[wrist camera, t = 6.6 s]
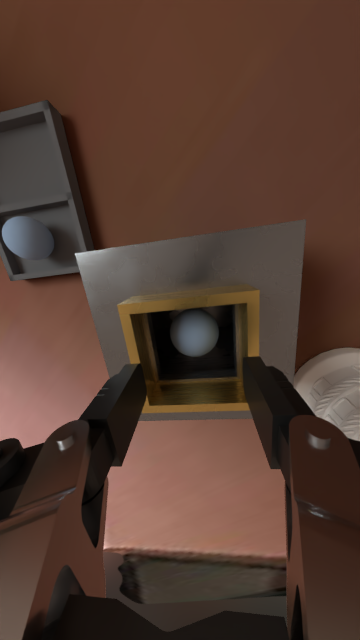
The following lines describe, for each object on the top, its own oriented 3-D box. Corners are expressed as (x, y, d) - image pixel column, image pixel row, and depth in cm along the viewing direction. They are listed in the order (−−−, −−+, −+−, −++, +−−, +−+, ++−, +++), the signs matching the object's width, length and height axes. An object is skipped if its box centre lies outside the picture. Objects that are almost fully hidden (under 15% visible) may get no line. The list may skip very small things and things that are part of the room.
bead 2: (221, 302, 15) (211, 317, 12) (223, 344, 17) (215, 369, 13) (177, 303, 17) (158, 317, 13) (182, 341, 18) (166, 363, 15)
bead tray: (60, 114, 17) (47, 99, 15) (99, 269, 21) (91, 270, 20) (-31, 137, 18) (-52, 126, 17) (23, 279, 22) (10, 280, 21)
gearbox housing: (256, 238, 19) (337, 207, 8) (255, 379, 24) (304, 478, 13) (126, 256, 20) (45, 251, 10) (151, 383, 25) (118, 475, 15)
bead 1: (56, 218, 19) (21, 207, 15) (67, 257, 20) (38, 257, 17) (22, 224, 20) (-19, 215, 16) (36, 262, 21) (0, 262, 17)
